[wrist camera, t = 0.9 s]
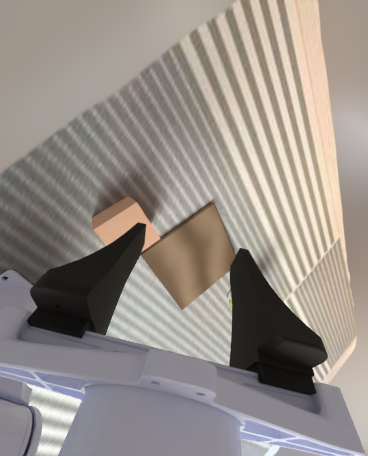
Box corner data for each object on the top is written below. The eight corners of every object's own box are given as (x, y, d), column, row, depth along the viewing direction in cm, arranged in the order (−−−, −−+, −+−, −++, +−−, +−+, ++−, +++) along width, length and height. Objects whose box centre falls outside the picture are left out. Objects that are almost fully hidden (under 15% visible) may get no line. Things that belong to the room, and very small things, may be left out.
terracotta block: (116, 248, 25) (122, 265, 21) (91, 217, 23) (93, 229, 18) (148, 226, 26) (160, 238, 22) (128, 195, 24) (137, 202, 19)
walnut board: (179, 307, 33) (181, 310, 32) (139, 253, 26) (141, 255, 26) (235, 261, 35) (238, 263, 35) (211, 203, 29) (214, 204, 29)
